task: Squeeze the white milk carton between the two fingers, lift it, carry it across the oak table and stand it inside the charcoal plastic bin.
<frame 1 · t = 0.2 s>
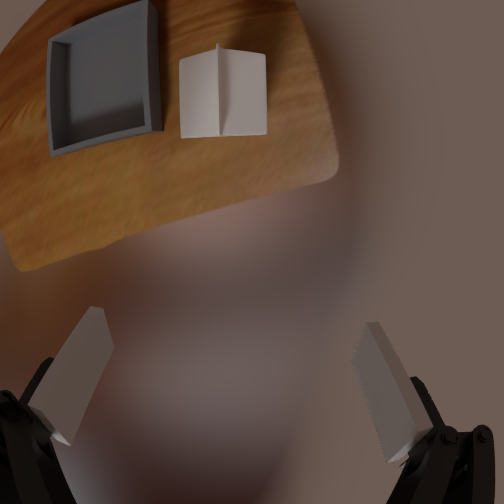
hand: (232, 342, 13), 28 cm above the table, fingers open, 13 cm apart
bin: (107, 80, 30), on the table
milk: (234, 114, 34), on the table
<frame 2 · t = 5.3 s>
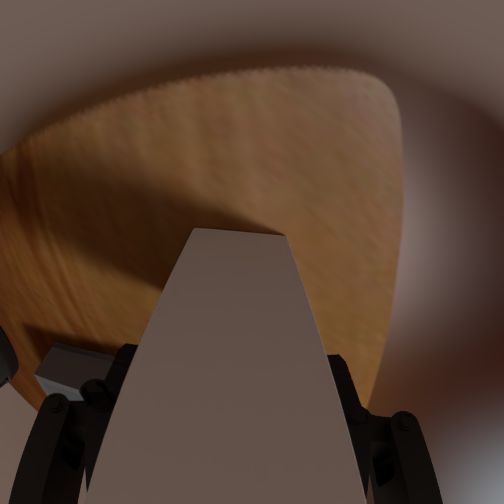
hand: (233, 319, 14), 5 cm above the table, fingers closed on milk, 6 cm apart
bin: (152, 408, 26), on the table
milk: (236, 270, 19), on the table, touching gripper
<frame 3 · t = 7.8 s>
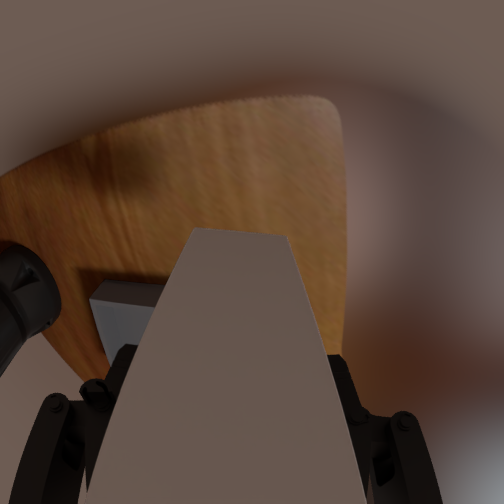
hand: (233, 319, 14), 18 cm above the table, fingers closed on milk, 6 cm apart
bin: (175, 334, 38), on the table
milk: (236, 270, 19), point 13 cm above the table, touching gripper
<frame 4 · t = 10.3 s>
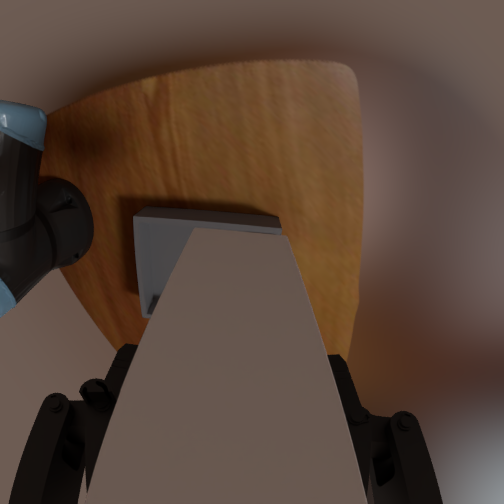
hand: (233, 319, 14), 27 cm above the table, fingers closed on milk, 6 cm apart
bin: (207, 262, 43), on the table
milk: (236, 270, 19), point 22 cm above the table, touching gripper
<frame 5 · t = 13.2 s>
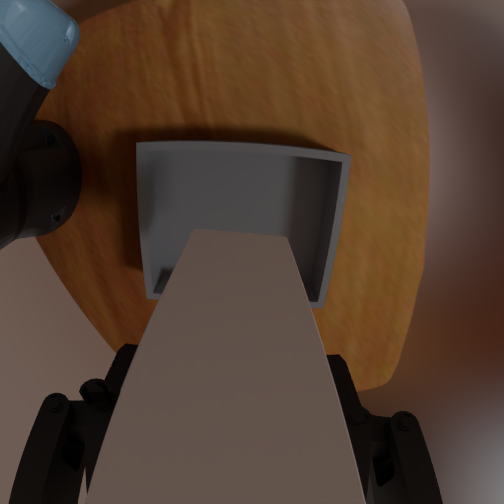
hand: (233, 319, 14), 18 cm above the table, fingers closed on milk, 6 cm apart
bin: (239, 216, 31), on the table
milk: (236, 271, 19), point 13 cm above the table, touching gripper
when the fingers open (8 cm above the table, at t = 15.8 s): milk drops 2 cm, resting on bin.
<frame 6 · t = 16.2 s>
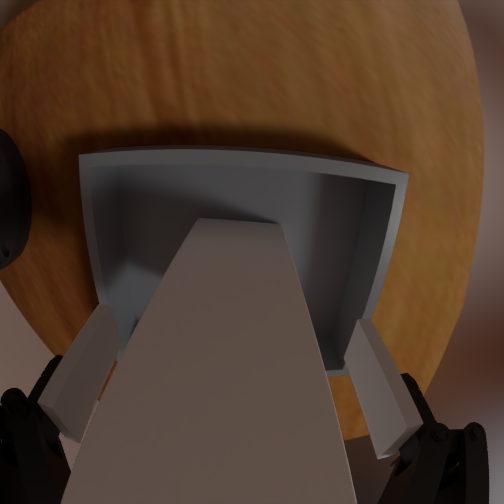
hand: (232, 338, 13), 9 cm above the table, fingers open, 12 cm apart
bin: (237, 255, 22), on the table
milk: (237, 257, 21), point 1 cm above the table, touching bin
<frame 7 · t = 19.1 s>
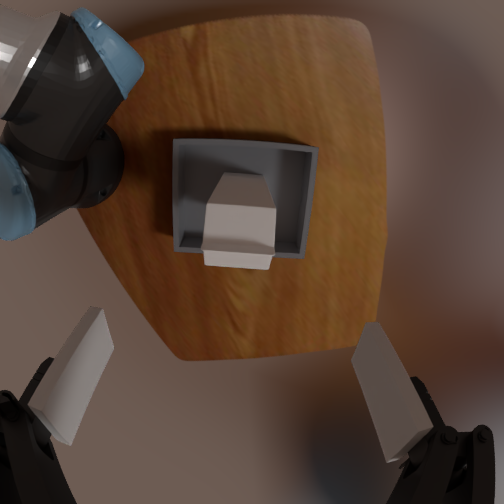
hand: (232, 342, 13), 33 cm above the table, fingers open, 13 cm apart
bin: (242, 192, 43), on the table
milk: (242, 192, 42), point 1 cm above the table, touching bin
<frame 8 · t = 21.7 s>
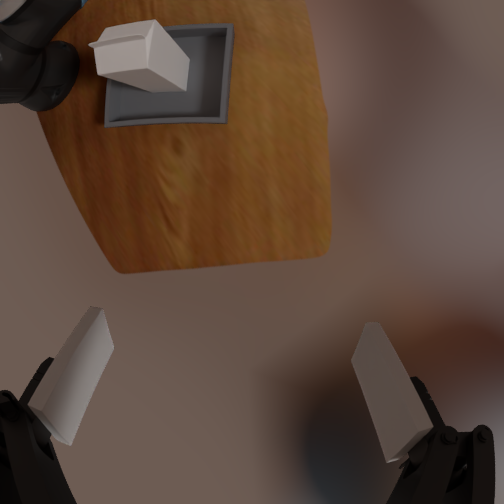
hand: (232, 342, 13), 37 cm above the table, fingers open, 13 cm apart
bin: (172, 77, 38), on the table
milk: (171, 75, 37), point 1 cm above the table, touching bin
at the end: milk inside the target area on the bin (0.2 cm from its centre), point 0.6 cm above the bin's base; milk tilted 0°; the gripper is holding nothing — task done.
